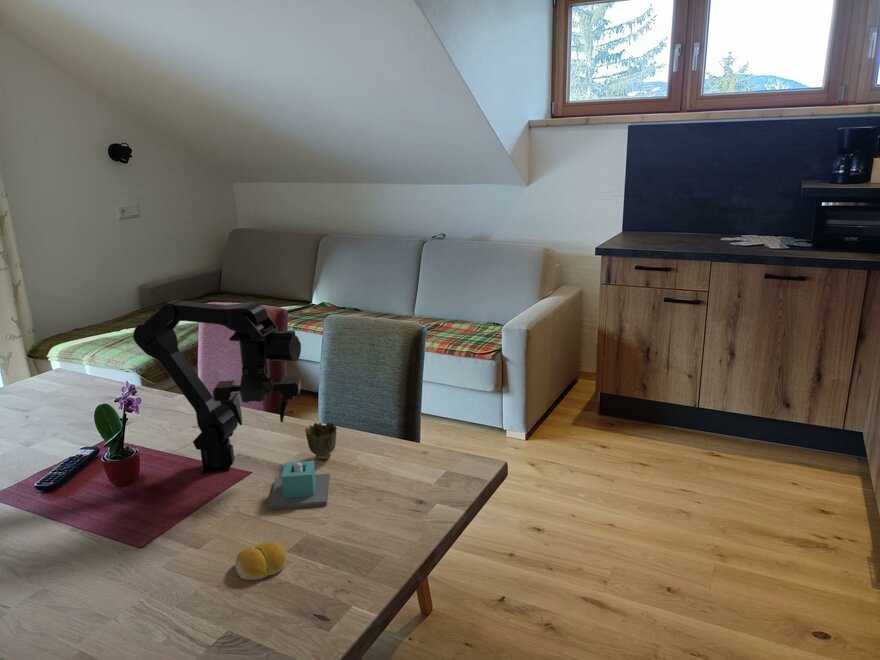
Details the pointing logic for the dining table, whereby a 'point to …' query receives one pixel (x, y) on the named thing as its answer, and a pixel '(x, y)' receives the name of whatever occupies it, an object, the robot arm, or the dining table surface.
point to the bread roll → (260, 561)
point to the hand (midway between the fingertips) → (261, 423)
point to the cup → (321, 440)
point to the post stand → (304, 501)
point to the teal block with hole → (299, 480)
